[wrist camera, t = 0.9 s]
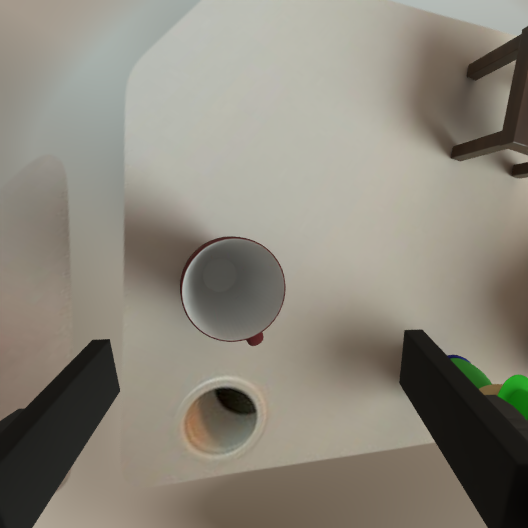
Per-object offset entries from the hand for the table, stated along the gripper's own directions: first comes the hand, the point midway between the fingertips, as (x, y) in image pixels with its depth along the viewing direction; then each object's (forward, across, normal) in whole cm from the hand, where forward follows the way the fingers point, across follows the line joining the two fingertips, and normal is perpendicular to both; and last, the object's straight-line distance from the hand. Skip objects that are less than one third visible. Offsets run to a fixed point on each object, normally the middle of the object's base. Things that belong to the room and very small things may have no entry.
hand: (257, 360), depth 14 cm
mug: (+20, -4, -4) cm, 20 cm away
